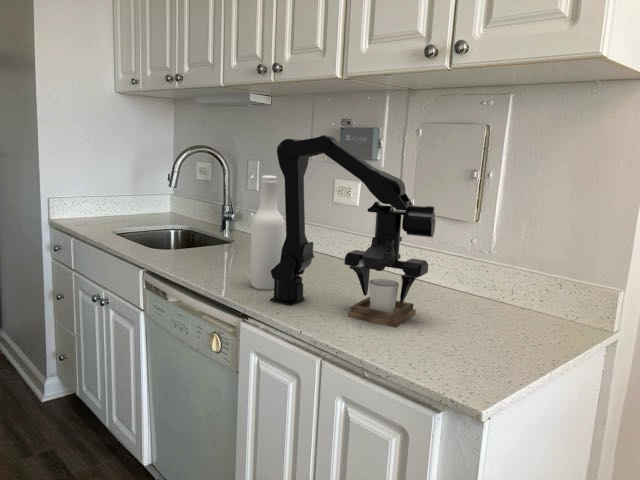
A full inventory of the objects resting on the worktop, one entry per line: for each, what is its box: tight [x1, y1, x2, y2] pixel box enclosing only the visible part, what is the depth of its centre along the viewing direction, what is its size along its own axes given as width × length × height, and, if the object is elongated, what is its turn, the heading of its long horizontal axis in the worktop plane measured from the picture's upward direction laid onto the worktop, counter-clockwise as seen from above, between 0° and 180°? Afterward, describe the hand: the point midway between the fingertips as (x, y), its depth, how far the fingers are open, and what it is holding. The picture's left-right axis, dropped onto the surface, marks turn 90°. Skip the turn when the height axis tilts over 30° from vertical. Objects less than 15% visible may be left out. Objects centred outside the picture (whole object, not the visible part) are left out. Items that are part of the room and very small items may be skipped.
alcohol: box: [249, 175, 286, 291], centre depth 142 cm, size 9×9×30 cm
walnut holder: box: [347, 296, 417, 328], centre depth 124 cm, size 12×12×2 cm
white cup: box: [368, 278, 399, 313], centre depth 123 cm, size 7×7×7 cm
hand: (383, 298), depth 124 cm, fingers open, 9 cm apart
